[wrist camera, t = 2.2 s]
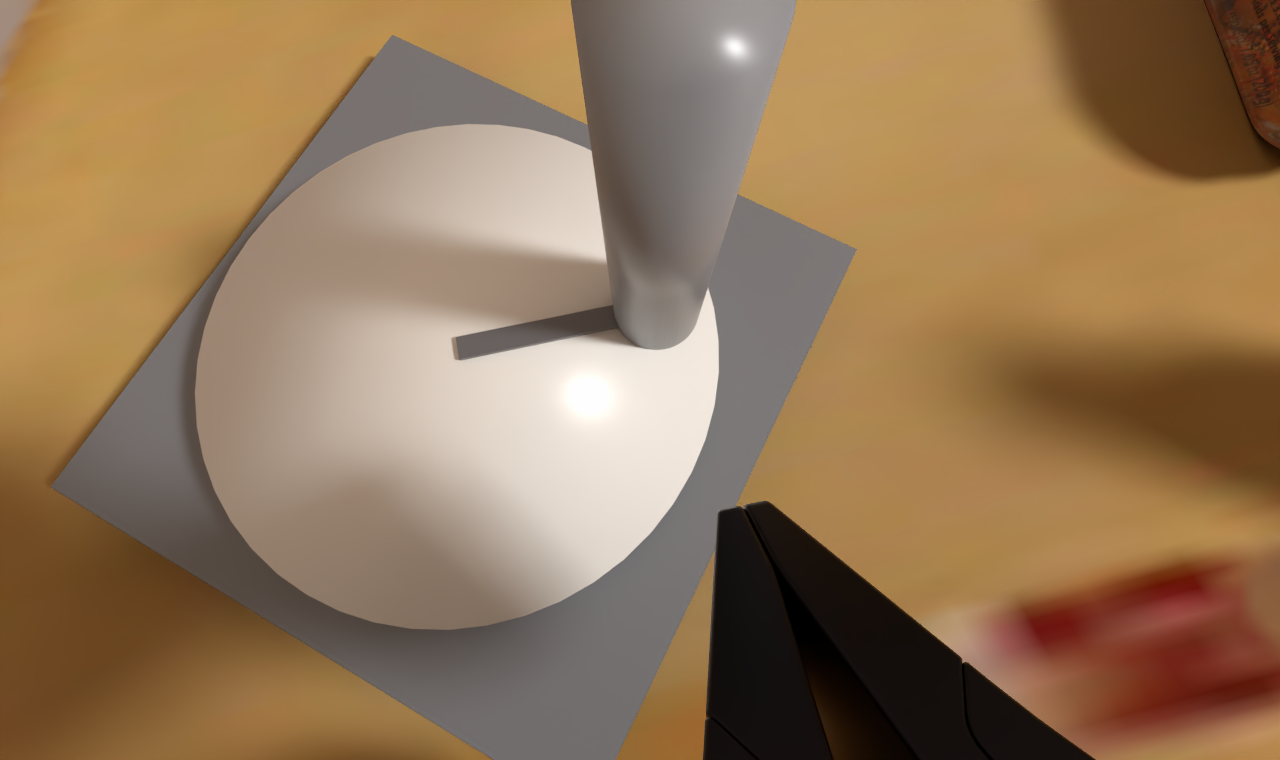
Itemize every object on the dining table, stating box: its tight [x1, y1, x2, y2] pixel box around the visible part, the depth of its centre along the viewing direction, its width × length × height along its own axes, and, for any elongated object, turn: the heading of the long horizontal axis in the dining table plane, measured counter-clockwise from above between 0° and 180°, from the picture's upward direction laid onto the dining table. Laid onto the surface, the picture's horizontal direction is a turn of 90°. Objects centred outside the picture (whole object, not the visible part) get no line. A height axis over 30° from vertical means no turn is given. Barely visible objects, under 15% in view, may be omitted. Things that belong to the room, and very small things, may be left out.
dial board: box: [51, 35, 857, 760], centre depth 21 cm, size 22×22×2 cm
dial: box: [195, 0, 796, 630], centre depth 13 cm, size 18×18×14 cm
